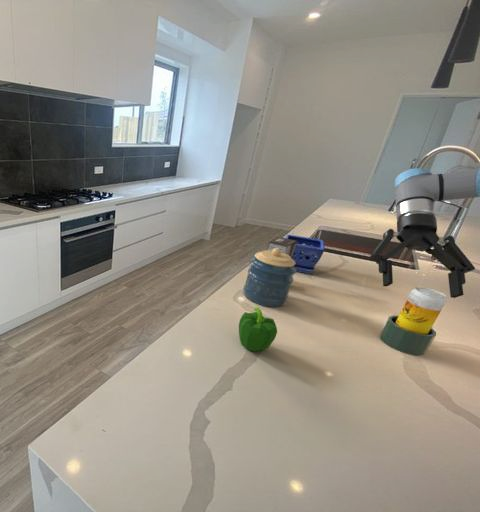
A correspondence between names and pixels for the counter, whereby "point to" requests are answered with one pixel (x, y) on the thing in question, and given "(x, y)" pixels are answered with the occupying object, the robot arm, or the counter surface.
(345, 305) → the counter surface
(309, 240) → the flower pot
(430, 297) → the yellow and white cup
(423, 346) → the holder
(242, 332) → the bell pepper
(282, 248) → the coffee box
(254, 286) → the canister
